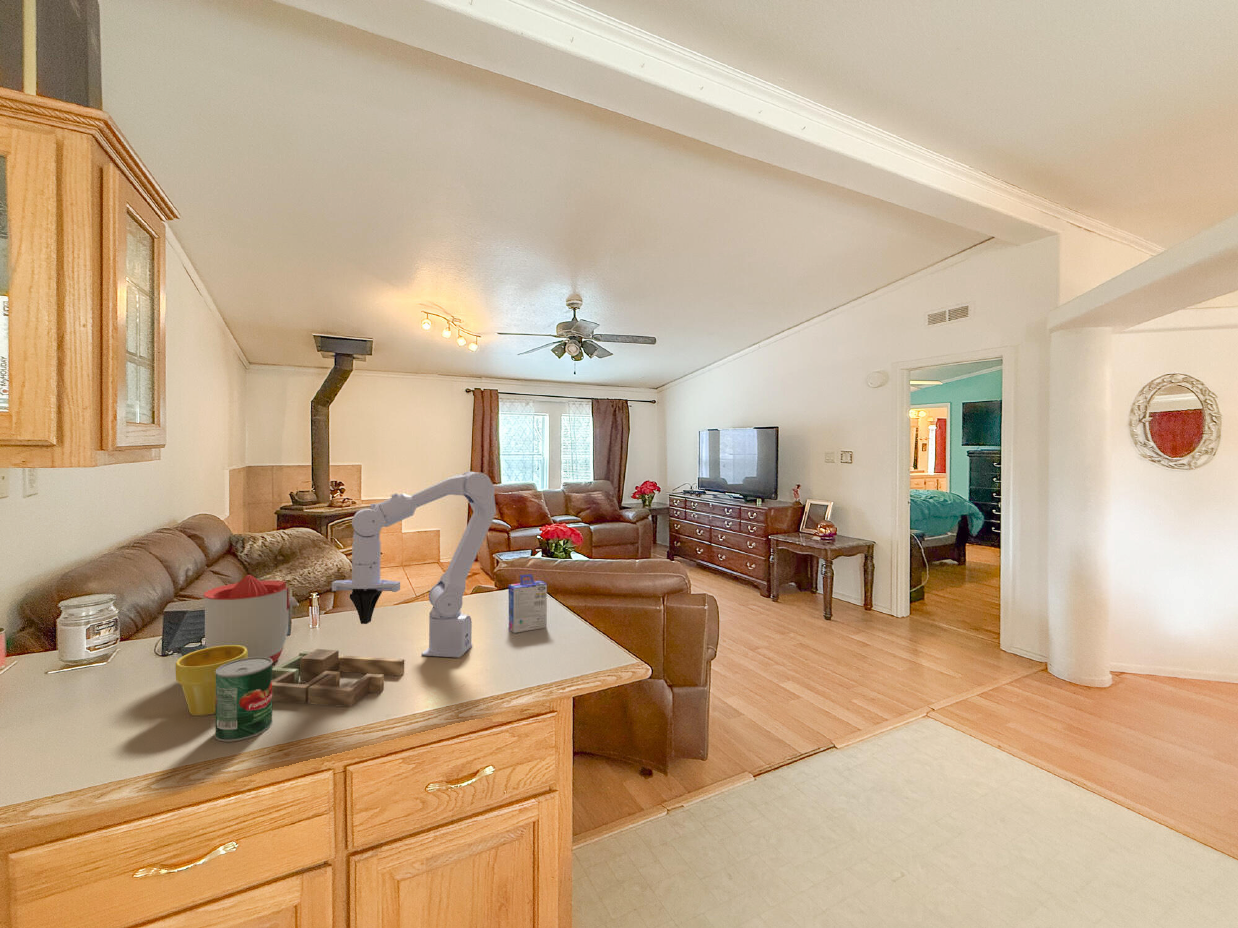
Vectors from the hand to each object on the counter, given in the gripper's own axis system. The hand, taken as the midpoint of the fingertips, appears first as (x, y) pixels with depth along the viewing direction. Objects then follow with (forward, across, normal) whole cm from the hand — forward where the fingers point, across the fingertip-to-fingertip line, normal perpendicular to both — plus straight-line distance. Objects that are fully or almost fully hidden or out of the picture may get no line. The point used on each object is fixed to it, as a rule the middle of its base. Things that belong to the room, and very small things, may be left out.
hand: (365, 622), depth 113 cm
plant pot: (+10, +18, +20) cm, 29 cm away
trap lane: (+9, +2, +11) cm, 14 cm away
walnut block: (+10, +6, +7) cm, 13 cm away
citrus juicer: (+10, +25, +1) cm, 27 cm away
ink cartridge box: (+10, -32, -26) cm, 42 cm away
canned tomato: (+10, +7, +28) cm, 30 cm away
